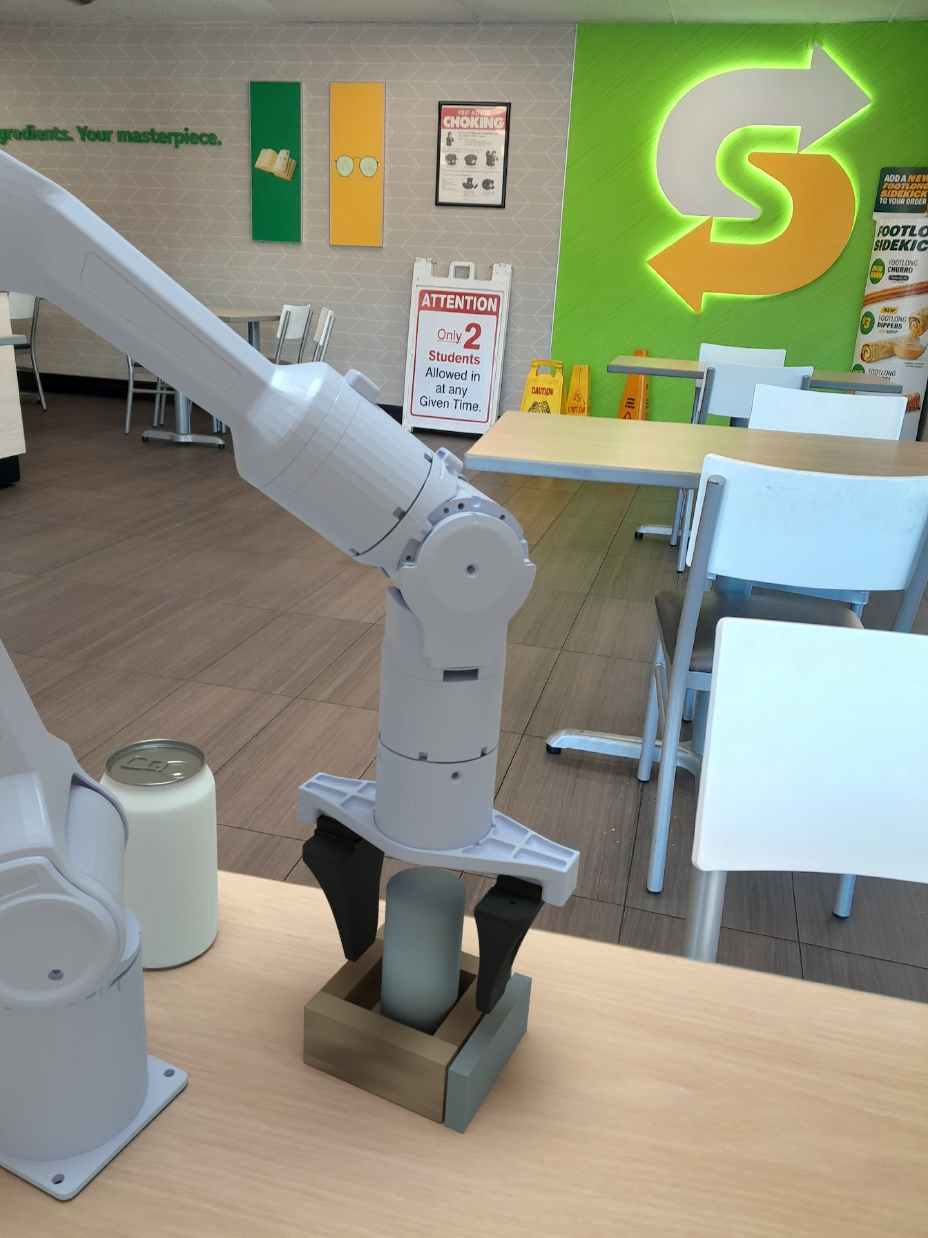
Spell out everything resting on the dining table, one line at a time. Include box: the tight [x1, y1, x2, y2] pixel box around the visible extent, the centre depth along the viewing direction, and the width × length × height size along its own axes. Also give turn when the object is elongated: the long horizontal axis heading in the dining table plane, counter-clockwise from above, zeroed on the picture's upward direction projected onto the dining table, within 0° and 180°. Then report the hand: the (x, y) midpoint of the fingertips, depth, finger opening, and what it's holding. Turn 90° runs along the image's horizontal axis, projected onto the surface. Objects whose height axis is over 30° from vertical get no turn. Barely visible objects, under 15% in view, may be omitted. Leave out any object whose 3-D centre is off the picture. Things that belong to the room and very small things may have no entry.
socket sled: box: [302, 922, 513, 1124], centre depth 52 cm, size 8×8×4 cm
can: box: [99, 738, 219, 970], centre depth 58 cm, size 6×6×12 cm
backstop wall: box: [443, 971, 533, 1135], centre depth 51 cm, size 1×8×4 cm, turn 154°
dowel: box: [380, 866, 467, 1036], centre depth 51 cm, size 4×4×9 cm
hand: (423, 974), depth 51 cm, fingers open, 7 cm apart
